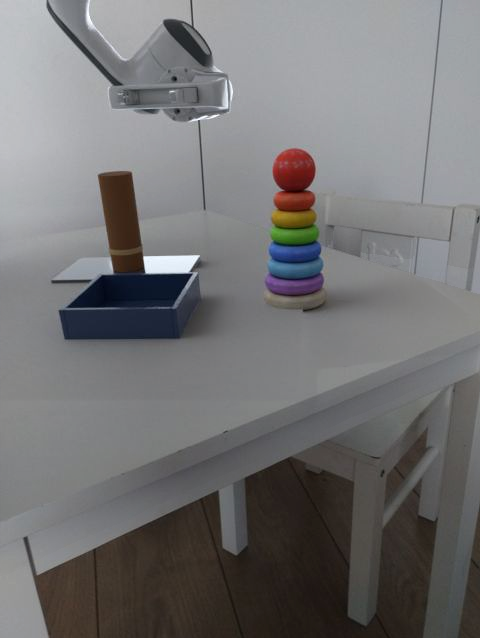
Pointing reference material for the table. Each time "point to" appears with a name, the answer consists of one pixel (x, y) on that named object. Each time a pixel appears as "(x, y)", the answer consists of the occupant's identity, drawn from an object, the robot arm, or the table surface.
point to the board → (92, 267)
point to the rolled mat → (121, 220)
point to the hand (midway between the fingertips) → (146, 97)
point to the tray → (132, 306)
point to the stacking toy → (294, 237)
